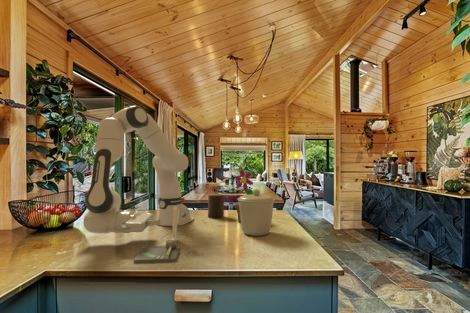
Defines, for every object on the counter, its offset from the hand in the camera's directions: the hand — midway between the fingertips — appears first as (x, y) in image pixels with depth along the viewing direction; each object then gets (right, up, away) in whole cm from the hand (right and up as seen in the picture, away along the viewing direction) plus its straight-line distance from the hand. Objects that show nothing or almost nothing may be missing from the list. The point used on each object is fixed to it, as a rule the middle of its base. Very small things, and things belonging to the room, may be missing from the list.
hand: (159, 221), depth 116 cm
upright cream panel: (+7, -7, -9) cm, 13 cm away
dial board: (+4, -8, -16) cm, 19 cm away
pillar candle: (+20, -10, +52) cm, 57 cm away
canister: (+42, -9, +15) cm, 45 cm away
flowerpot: (+39, -9, +38) cm, 55 cm away
